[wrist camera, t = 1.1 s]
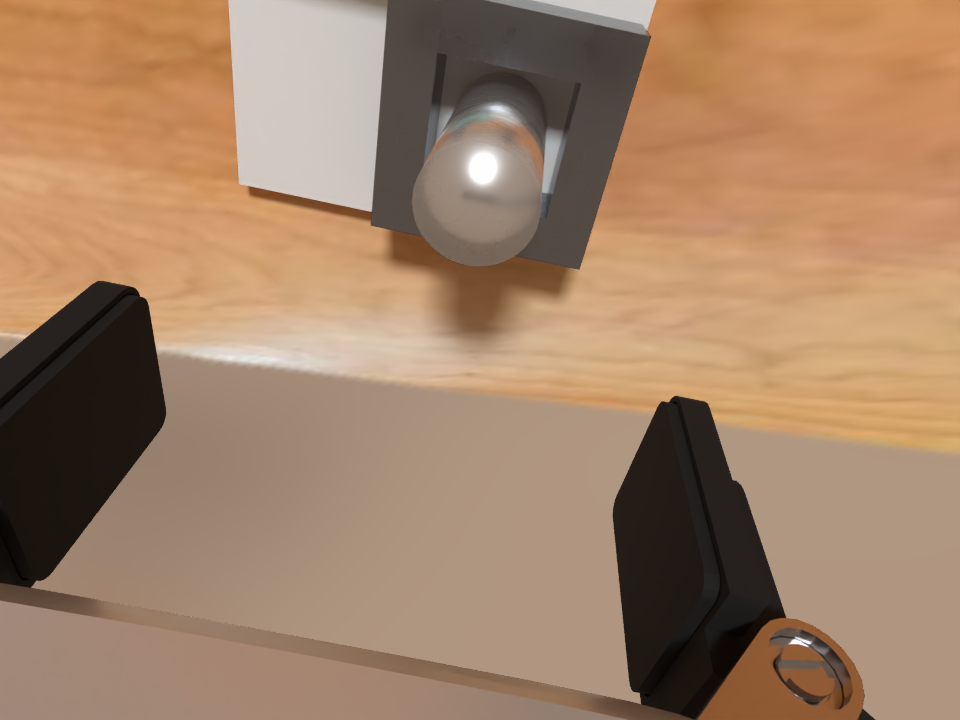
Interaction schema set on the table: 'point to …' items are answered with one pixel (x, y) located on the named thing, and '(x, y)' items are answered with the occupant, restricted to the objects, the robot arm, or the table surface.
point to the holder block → (522, 46)
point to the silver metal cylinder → (485, 173)
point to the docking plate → (347, 92)
